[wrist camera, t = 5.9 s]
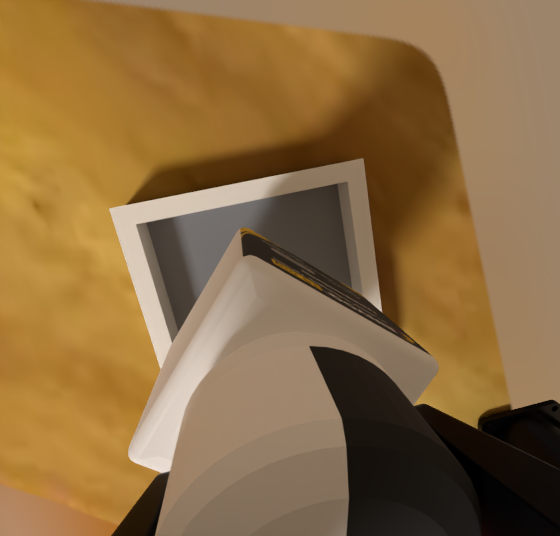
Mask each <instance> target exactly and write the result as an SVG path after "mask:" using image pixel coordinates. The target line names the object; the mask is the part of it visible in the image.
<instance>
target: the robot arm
mask: <svg viewBox="0 0 560 536" xmlns="http://www.w3.org/2000/svg"><path fill="white" fill-rule="evenodd" d="M414 407H415V408H416V409H417V411H418V412H419V413H420V414H421V416H422V417H423V418H424V419H425V421H426V422H427V423H428V424H429V425H430V427H431V428H432V429H433V430H434V432H435V433H436V434H437V435H438V437H439V438H440V439H441V440H442V442H443V443H444V444H445V445H446V447H447V448H448V449H449V450H450V451H451V453H452V454H453V455H454V456H455V458H456V459H457V460H458V461H459V463H460V464H461V465H462V467H463V468H464V470H465V471H466V473H467V474H468V476H469V477H470V479H471V481H472V483H473V486H474V488H475V490H476V493H477V495H478V500H479V504H480V509H481V521H482V536H560V404H559V403H557V402H556V401H554V400H548V401H545V402H541V403H537V404H533V405H529V406H526V407H522V408H518V409H514V410H511V411H507V412H503V413H499V414H496V415H492V416H488V417H484V418H482V419H481V420H479V422H478V429H476V428H474V427H472V426H470V425H468V424H466V423H464V422H462V421H460V420H458V419H456V418H454V417H452V416H450V415H448V414H445V413H443V412H441V411H439V410H437V409H435V408H433V407H431V406H429V405H427V404H420V405H416V406H414ZM169 473H170V471H168V472H164V473H161V474H158V475H157V476H156V477H155V479H154V480H153V481H152V483H151V484H150V485H149V487H148V488H147V489H146V491H145V492H144V493H143V494H142V496H141V497H140V498H139V500H138V501H137V502H136V504H135V505H134V506H133V508H132V509H131V510H130V512H129V513H128V514H127V516H126V517H125V518H124V520H123V521H122V522H121V523H120V525H119V526H118V527H117V529H116V530H115V531H114V533H113V534H112V535H111V536H155V533H156V529H157V525H158V520H159V516H160V512H161V508H162V503H163V499H164V495H165V490H166V486H167V482H168V478H169Z"/></svg>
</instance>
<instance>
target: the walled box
mask: <svg viewBox="0 0 560 536" xmlns="http://www.w3.org/2000/svg"><path fill="white" fill-rule="evenodd" d="M109 210H110V213H111V216H112V219H113V222H114V225H115V228H116V232H117V235H118V238H119V241H120V244H121V247H122V250H123V253H124V256H125V260H126V263H127V266H128V269H129V272H130V275H131V278H132V281H133V284H134V288H135V291H136V294H137V297H138V300H139V303H140V306H141V309H142V313H143V316H144V319H145V322H146V325H147V328H148V331H149V334H150V337H151V341H152V344H153V347H154V350H155V353H156V356H157V359H158V362H159V365H160V369H161V368H162V366H163V363H164V361H165V358H166V356H167V353H168V351H169V349H170V346H171V344H172V343H173V341H174V339H175V337H176V336H177V334H178V332H179V331H180V329H181V327H182V325H183V324H184V322H185V320H186V319H187V317H188V315H189V313H190V312H191V310H192V308H193V306H194V305H195V303H196V301H197V300H198V298H199V296H200V294H201V293H202V291H203V289H204V288H205V286H206V284H207V282H208V281H209V279H210V277H211V275H212V274H213V272H214V270H215V269H216V267H217V265H218V263H219V262H220V260H221V258H222V256H223V255H224V253H225V251H226V250H227V248H228V246H229V244H230V243H231V241H232V239H233V238H234V236H235V234H236V232H237V231H238V230H239V229H240V228H243V227H245V228H249V229H250V230H252V231H254V232H256V233H257V234H259V235H261V236H262V237H264V238H266V239H268V240H269V241H271V242H273V243H274V244H276V245H278V246H280V247H281V248H283V249H285V250H286V251H288V252H290V253H292V254H293V255H295V256H297V257H298V258H300V259H302V260H303V261H305V262H307V263H309V264H310V265H312V266H314V267H315V268H317V269H319V270H321V271H322V272H324V273H326V274H327V275H329V276H331V277H333V278H334V279H336V280H338V281H339V282H341V283H343V284H345V285H346V286H348V287H350V288H351V289H353V290H355V291H356V292H358V293H360V294H361V295H362V296H363V297H365V298H366V299H367V300H368V301H369V302H370V303H372V304H373V305H374V306H375V307H376V308H377V309H378V310H380V311H381V312H382V307H381V299H380V291H379V283H378V274H377V266H376V258H375V250H374V241H373V233H372V225H371V216H370V208H369V200H368V192H367V183H366V175H365V167H364V159H363V158H362V159H357V160H351V161H346V162H341V163H336V164H331V165H326V166H321V167H316V168H311V169H306V170H301V171H296V172H291V173H286V174H281V175H276V176H271V177H266V178H261V179H256V180H251V181H246V182H241V183H235V184H230V185H225V186H220V187H215V188H210V189H205V190H200V191H195V192H190V193H185V194H180V195H175V196H170V197H165V198H160V199H155V200H150V201H145V202H140V203H135V204H130V205H125V206H119V207H114V208H109Z"/></svg>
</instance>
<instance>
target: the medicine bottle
mask: <svg viewBox="0 0 560 536" xmlns="http://www.w3.org/2000/svg"><path fill="white" fill-rule="evenodd" d="M438 369H439V367H438V363H437V361H436V360H435V359H434V357H433V356H432V355H430V354H429V353H428V352H427V351H426V350H425V349H423V348H422V347H421V346H420V345H419V344H418V343H417V342H415V341H414V340H413V339H412V338H411V337H410V336H408V335H407V334H406V333H405V332H404V331H403V330H402V329H400V328H399V327H398V326H397V325H396V324H395V323H393V322H392V321H391V320H390V319H389V318H388V317H387V316H385V315H384V314H383V313H382V312H381V311H380V310H378V309H377V308H376V307H375V306H374V305H373V304H372V303H370V302H369V301H368V300H367V299H366V298H365V297H363V296H362V295H361V294H360V293H358V292H356V291H355V290H353V289H351V288H350V287H348V286H346V285H345V284H343V283H341V282H339V281H338V280H336V279H334V278H333V277H331V276H329V275H327V274H326V273H324V272H322V271H321V270H319V269H317V268H315V267H314V266H312V265H310V264H309V263H307V262H305V261H303V260H302V259H300V258H298V257H297V256H295V255H293V254H292V253H290V252H288V251H286V250H285V249H283V248H281V247H280V246H278V245H276V244H274V243H273V242H271V241H269V240H268V239H266V238H264V237H262V236H261V235H259V234H257V233H256V232H254V231H252V230H250V229H249V228H245V227H243V228H240V229H239V230H238V231H237V232H236V234H235V236H234V238H233V239H232V241H231V243H230V244H229V246H228V248H227V250H226V251H225V253H224V255H223V256H222V258H221V260H220V262H219V263H218V265H217V267H216V269H215V270H214V272H213V274H212V275H211V277H210V279H209V281H208V282H207V284H206V286H205V288H204V289H203V291H202V293H201V294H200V296H199V298H198V300H197V301H196V303H195V305H194V306H193V308H192V310H191V312H190V313H189V315H188V317H187V319H186V320H185V322H184V324H183V325H182V327H181V329H180V331H179V332H178V334H177V336H176V337H175V339H174V341H173V343H172V344H171V346H170V349H169V351H168V353H167V356H166V358H165V361H164V363H163V366H162V368H161V370H160V373H159V375H158V378H157V380H156V383H155V385H154V387H153V390H152V392H151V395H150V397H149V400H148V402H147V404H146V407H145V409H144V412H143V414H142V417H141V419H140V421H139V424H138V426H137V429H136V431H135V433H134V436H133V438H132V441H131V443H130V446H129V451H128V456H129V458H130V460H132V461H133V462H135V463H137V464H140V465H142V466H145V467H148V468H150V469H153V470H156V471H159V472H161V473H164V472H168V471H170V473H169V478H168V482H167V486H166V490H165V495H164V499H163V503H162V508H161V512H160V516H159V520H158V525H157V529H156V533H155V536H482V521H481V509H480V504H479V500H478V495H477V493H476V490H475V488H474V486H473V483H472V481H471V479H470V477H469V476H468V474H467V473H466V471H465V470H464V468H463V467H462V465H461V464H460V463H459V461H458V460H457V459H456V458H455V456H454V455H453V454H452V453H451V451H450V450H449V449H448V448H447V447H446V445H445V444H444V443H443V442H442V440H441V439H440V438H439V437H438V435H437V434H436V433H435V432H434V430H433V429H432V428H431V427H430V425H429V424H428V423H427V422H426V421H425V419H424V418H423V417H422V416H421V414H420V413H419V412H418V411H417V409H416V408H415V407H414V406H413V405H414V404H415V403H416V401H417V400H418V398H419V397H420V396H421V394H422V393H423V391H424V390H425V389H426V387H427V386H428V385H429V383H430V382H431V380H432V379H433V378H434V376H435V375H436V374H437V371H438Z"/></svg>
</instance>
